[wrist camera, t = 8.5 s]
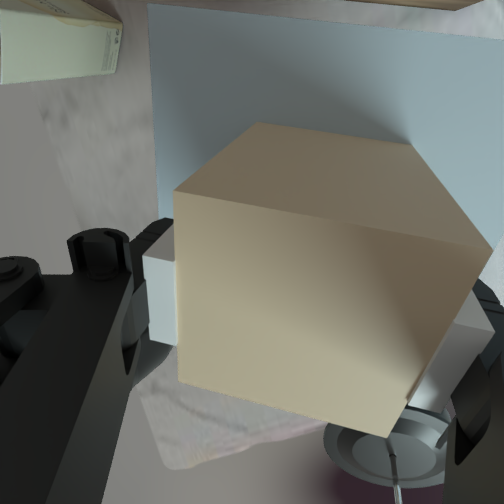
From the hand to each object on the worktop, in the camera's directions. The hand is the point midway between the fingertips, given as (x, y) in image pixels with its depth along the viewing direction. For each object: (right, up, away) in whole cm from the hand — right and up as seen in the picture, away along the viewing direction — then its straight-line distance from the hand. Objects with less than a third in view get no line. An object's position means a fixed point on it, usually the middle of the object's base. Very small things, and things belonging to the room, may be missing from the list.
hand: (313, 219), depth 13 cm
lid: (+1, +1, +2) cm, 3 cm away
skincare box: (-17, +18, +16) cm, 30 cm away
